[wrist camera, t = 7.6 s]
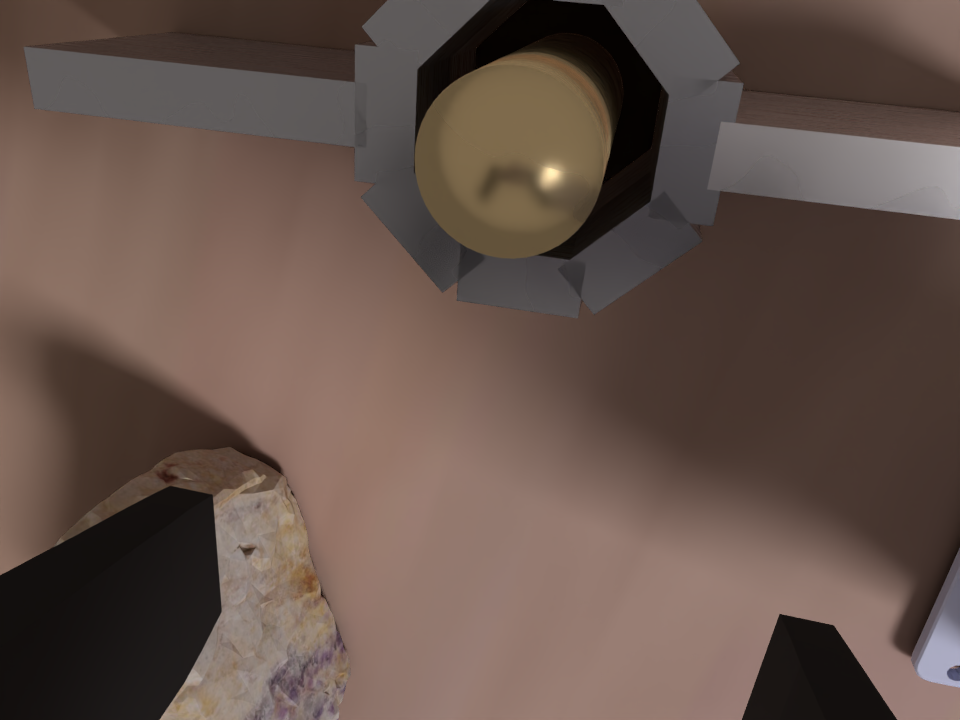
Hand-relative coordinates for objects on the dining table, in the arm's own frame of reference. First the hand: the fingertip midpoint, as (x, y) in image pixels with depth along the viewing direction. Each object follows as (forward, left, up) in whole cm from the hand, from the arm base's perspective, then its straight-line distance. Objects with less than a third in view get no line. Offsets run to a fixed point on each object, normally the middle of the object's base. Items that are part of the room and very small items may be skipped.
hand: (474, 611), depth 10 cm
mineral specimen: (+9, +11, -10) cm, 17 cm away
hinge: (0, -5, -9) cm, 11 cm away
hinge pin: (0, -5, -9) cm, 11 cm away
